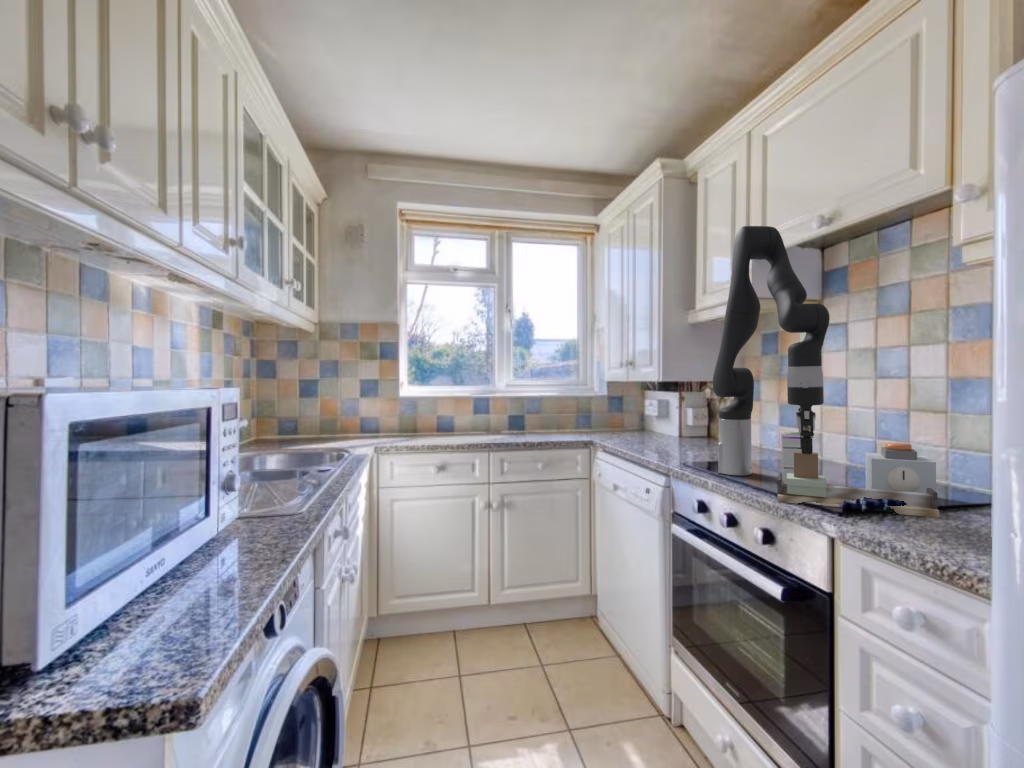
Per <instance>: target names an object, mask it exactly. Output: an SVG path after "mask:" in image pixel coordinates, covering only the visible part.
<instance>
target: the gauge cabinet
mask: <svg viewBox="0 0 1024 768" xmlns="http://www.w3.org/2000/svg"><path fill="white" fill-rule="evenodd" d="M864 456H865V488H866V489H878V490H891V491H903V492H915V493H927V488H932V489H933V490H934V491H935V492H937V462H936V461H934V460H933V459H931V458H929V457H927V456H926V455H918V451H917V450H915V449H914V448H912V450H909V451H902V450H890V449H886V446H880V453H879V452H878V453H877V452H876V453H875V452H865V455H864Z"/></svg>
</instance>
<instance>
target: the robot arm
mask: <svg viewBox="0 0 1024 768" xmlns="http://www.w3.org/2000/svg"><path fill="white" fill-rule="evenodd" d="M751 260H753V261H754V260H760V261H762V260H766V261H767V263H769V265H770V270H769V272H768V274H767V278H766V279H767V280H766V283H767V288H768V289H767V290H768V291H769V293H770V295H771V297H772V298H773V300H774V302H775V304H776V309H777V310H776V311H777V318H778V325H779V326H780V328H781V329H782V330H783V331H785V332H787V333H790V334H791V333H792V334H794V333H795V334H798V333H799V334H800V333H801V334H802V333H805V336H804V339H803V340H802V341H799V342H794V343H791V344H790V345H789V346H788V347H787V348H788V349H787V366H788V368H787V376H786V378H787V380H786V382H787V383H786V386H787V388H786V389H787V390H786V391H787V404H788V405H791V406H799V407H798V409H797V410H798V411H795V416H796V418H795V419H796V423H797V425H796V426H797V429H798V432H800V447H801V449H802V453H803V454H812V453H813V451H814V450H813V449H814V448H813V439H814V437H815V433H814V431H815V430H816V423H815V422H816V417H817V415H816V414H817V413H816V412H815V411H813V410H812V407H813V406H821V405H823V404H824V403H825V400H824V399H825V398H824V397H825V395H824V394H825V393H824V391H825V390H824V373H823V367H822V366H823V365H822V364H823V363H822V360H823V359H822V355H823V354H822V353H823V352H822V350H823V345H824V343H825V338H826V335H827V332H828V328H829V326H830V325H829V324H830V321H831V320H830V317H831V316H830V312H829V309H828V308H827V307H826V306H825V305H824V304H821V303H804V302H805V301H806V299H807V296H808V294H807V290H806V289H805V286H804V285H803V283H802V282H801V281H800V279H799V278H798V276H797V274H796V272H795V271H794V269H793V267H792V265H791V261H790V258H789V255H788V252H787V249H786V246H785V244H784V240H783V238H782V235H781V233H780V232H779V230H778V229H777V228H776V227H774V226H767V225H766V226H765V225H745V226H741V227H740V228H739V229H738V230H737V232H736V234H735V236H734V241H733V249H732V261H731V276H730V277H731V278H730V286H729V290H728V291H729V293H728V299H727V303H726V307H725V315H724V321H723V329H722V335H721V336H722V337H721V342H720V347H719V352H718V356H717V360H716V364H715V367H714V371H713V375H712V376H713V377H712V390H713V393H714V395H716V396H717V397H719V398H733V399H732V400H733V401H731V403H730V404H728V405H727V406H724V407H723V408H720V409H719V411H718V442H717V443H718V444H717V452H718V453H717V454H718V457H717V460H718V461H717V462H718V464H717V465H718V471H717V472H718V473H719V474H724V475H730V476H749V475H752V473H753V471H752V470H753V469H752V468H753V465H752V461H753V460H752V413H753V409H754V391H755V381H754V376H753V372H752V371H751V370H750V369H749V368H747V367H734V365H735V363H736V359H737V357H738V355H739V353H740V351H742V349H743V348H744V346H745V345H746V344H747V343H748V342H749V340H750V339H751V337H753V335H754V334H755V332H756V330H757V328H758V325H759V319H760V313H761V303H760V299H759V296H758V294H757V292H756V291H755V288H754V287H753V283H752V282H751V277H750V264H751V263H750V262H751Z"/></svg>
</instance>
